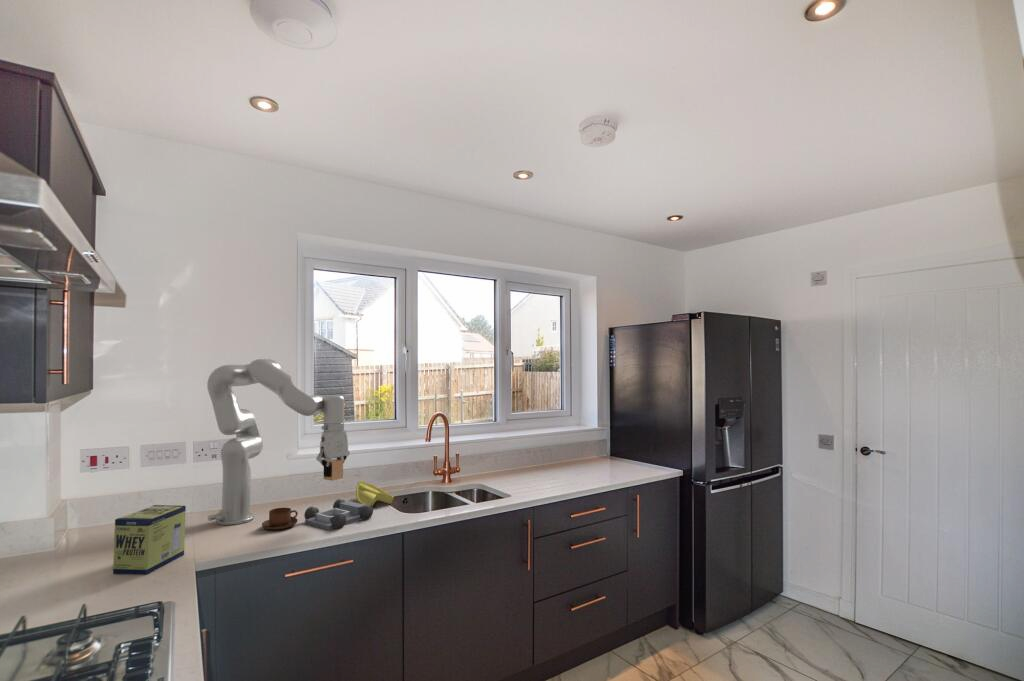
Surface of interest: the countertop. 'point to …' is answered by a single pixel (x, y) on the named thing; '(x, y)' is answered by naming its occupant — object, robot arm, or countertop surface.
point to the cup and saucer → (280, 519)
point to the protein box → (148, 539)
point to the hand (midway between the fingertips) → (333, 474)
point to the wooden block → (335, 469)
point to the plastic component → (371, 494)
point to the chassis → (338, 514)
